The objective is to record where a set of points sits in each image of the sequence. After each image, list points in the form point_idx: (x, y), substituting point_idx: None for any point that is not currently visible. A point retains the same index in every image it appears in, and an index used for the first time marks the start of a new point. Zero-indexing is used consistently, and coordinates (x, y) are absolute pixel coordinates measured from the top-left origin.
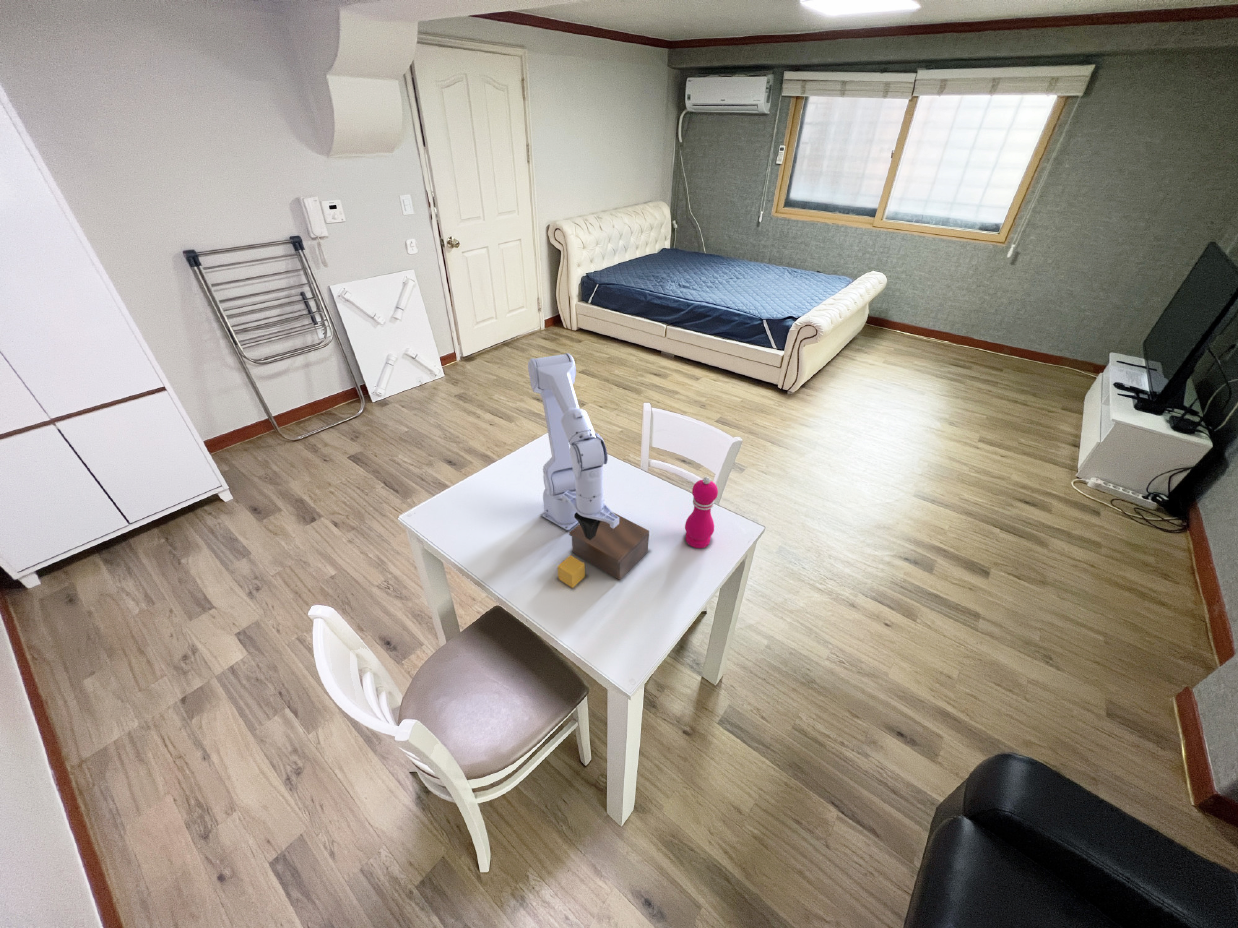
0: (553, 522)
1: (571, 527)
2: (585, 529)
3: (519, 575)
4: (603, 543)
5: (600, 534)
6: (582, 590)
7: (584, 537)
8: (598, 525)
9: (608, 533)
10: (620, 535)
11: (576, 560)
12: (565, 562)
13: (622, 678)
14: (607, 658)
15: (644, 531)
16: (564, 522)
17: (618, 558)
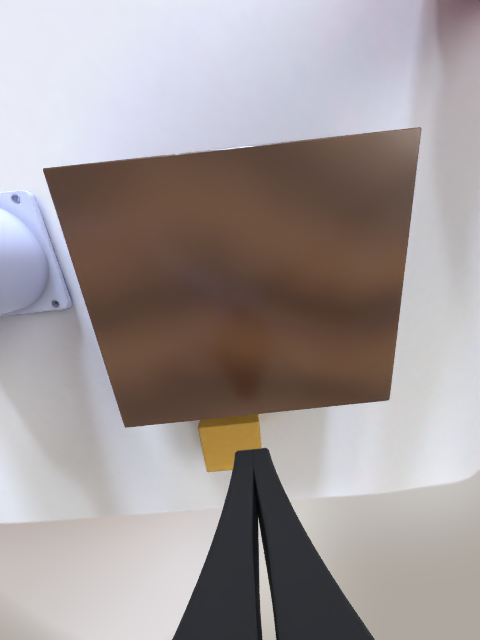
0: (7, 314)
1: (65, 291)
2: (259, 594)
3: (142, 472)
4: (280, 377)
5: (228, 347)
6: (279, 414)
7: (193, 405)
8: (304, 533)
9: (252, 317)
10: (307, 285)
11: (230, 430)
12: (212, 452)
13: (461, 479)
14: (420, 473)
15: (399, 157)
16: (30, 301)
17: (384, 392)
